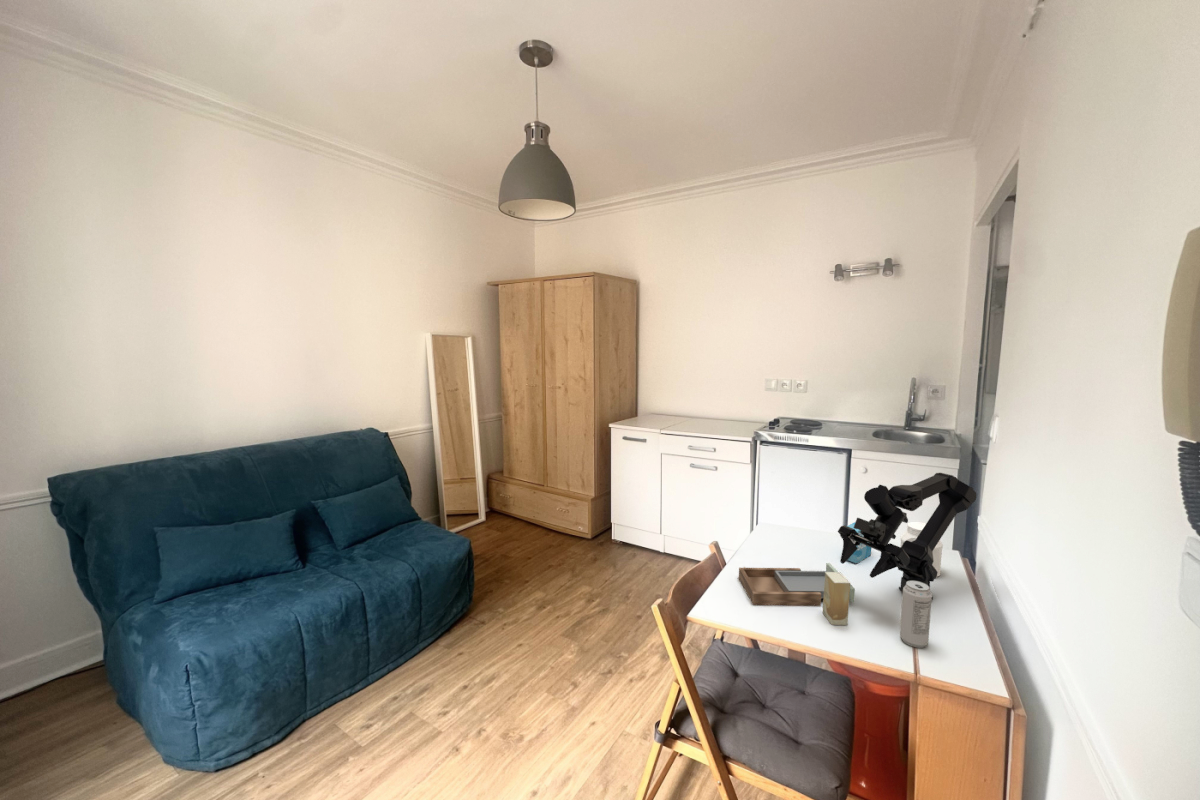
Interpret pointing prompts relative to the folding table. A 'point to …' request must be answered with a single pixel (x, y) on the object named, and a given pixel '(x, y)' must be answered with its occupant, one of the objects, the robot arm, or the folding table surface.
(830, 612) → the skincare box
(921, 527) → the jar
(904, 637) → the energy drink can
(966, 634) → the folding table surface
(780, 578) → the tray
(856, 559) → the blue printed box
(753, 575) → the caddy
